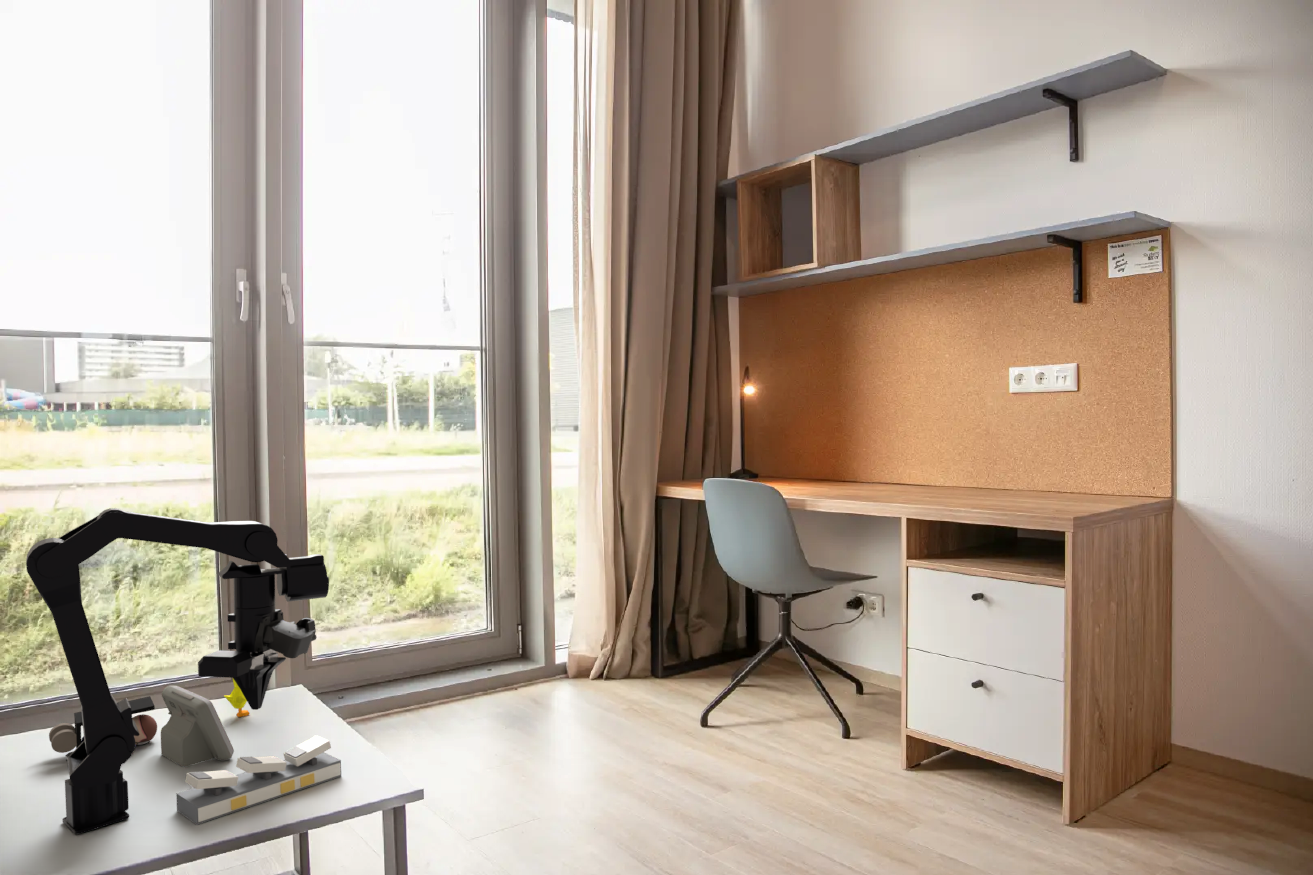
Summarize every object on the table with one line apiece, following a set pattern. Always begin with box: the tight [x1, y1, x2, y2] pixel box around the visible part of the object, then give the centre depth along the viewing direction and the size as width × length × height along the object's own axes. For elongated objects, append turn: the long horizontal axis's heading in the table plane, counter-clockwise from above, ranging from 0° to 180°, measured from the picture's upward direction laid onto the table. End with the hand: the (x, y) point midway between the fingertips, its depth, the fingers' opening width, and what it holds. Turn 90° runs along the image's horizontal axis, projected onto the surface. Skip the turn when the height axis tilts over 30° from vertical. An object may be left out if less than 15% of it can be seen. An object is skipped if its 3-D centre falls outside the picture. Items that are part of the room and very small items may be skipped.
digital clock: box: [160, 685, 235, 768], centre depth 149 cm, size 16×9×11 cm, turn 37°
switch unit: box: [175, 752, 342, 825], centre depth 132 cm, size 21×7×3 cm, turn 138°
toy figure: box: [223, 678, 250, 718], centre depth 169 cm, size 7×4×12 cm, turn 127°
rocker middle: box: [235, 755, 287, 773], centre depth 132 cm, size 6×4×1 cm
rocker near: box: [184, 769, 238, 789], centre depth 127 cm, size 6×4×1 cm
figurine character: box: [48, 695, 158, 762], centre depth 152 cm, size 7×8×15 cm
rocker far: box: [283, 734, 332, 766], centre depth 137 cm, size 6×4×1 cm
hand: (256, 708), depth 136 cm, fingers closed
